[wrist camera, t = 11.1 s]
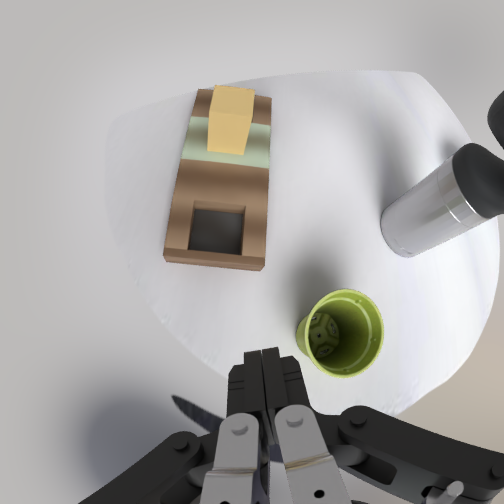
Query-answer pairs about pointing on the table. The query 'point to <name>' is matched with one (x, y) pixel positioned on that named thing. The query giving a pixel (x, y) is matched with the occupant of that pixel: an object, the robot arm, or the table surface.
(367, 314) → the plant pot
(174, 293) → the table surface
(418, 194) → the robot arm
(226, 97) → the ochre block
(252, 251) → the box
